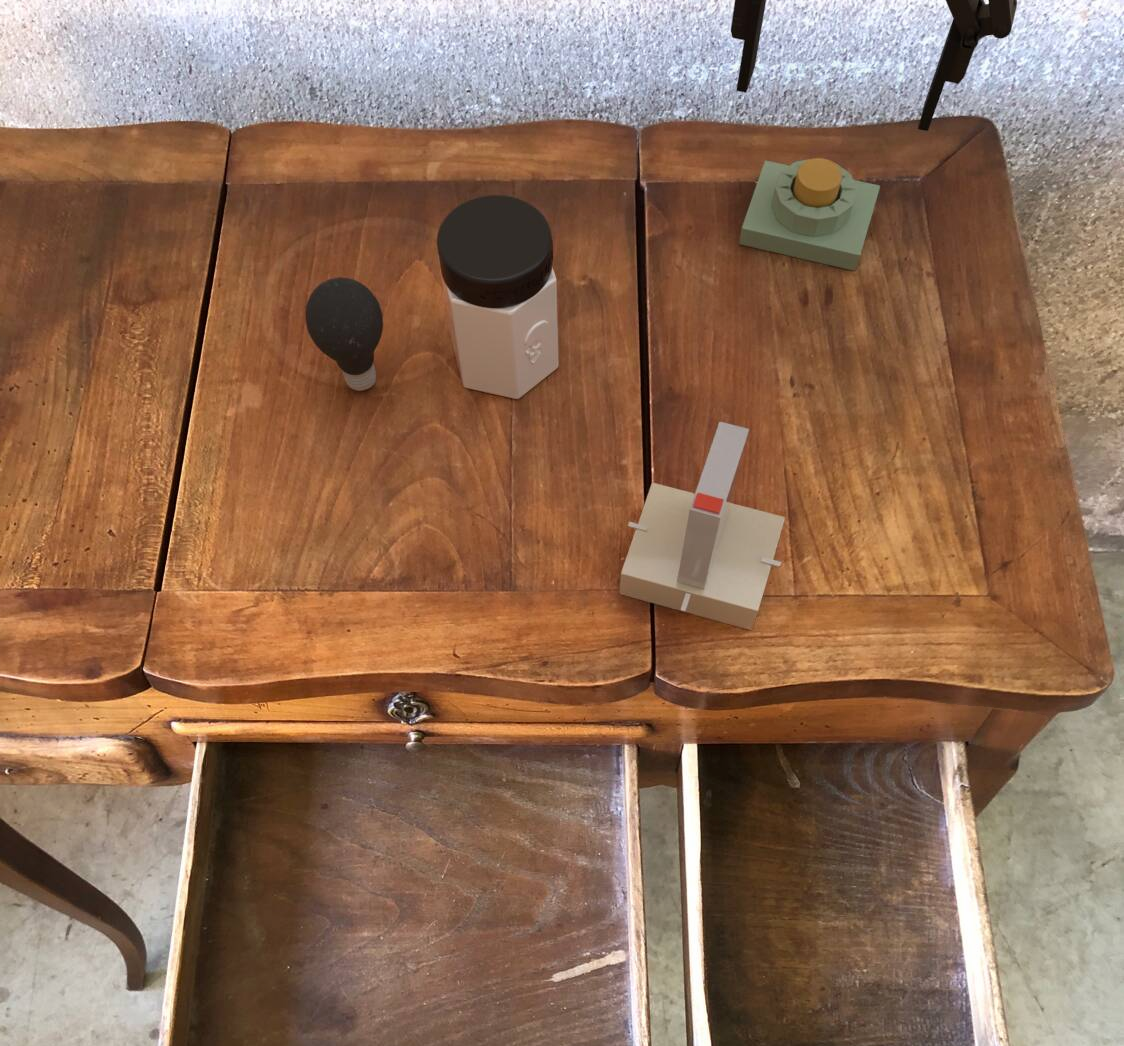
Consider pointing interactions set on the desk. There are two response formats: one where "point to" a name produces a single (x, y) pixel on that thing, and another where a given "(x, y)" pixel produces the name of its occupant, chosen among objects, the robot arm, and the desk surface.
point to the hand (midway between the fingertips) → (834, 98)
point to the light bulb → (346, 327)
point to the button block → (808, 218)
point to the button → (817, 182)
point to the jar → (500, 294)
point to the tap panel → (732, 572)
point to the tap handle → (711, 504)
